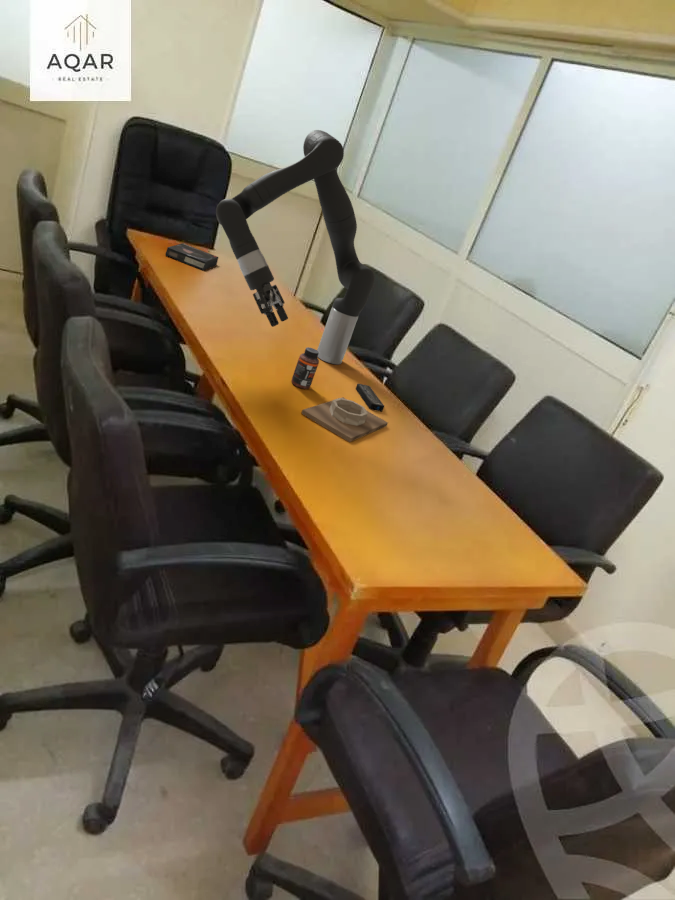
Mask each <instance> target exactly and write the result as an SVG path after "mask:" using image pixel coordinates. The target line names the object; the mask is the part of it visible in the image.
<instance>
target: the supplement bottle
mask: <svg viewBox="0 0 675 900" xmlns="http://www.w3.org/2000/svg"><path fill="white" fill-rule="evenodd" d="M318 354H319V352H318V351H317V349H316V348H313V347H305V349H304V353H301V354H300V355H299V356H298V360H297V363H296V366H295V369H294V370H293V374H292V377H291V383H292V384H293V385H294V386H296V387H297V388H300V389H303V390H308V389H310V388H311V386H312V383H313V381H314V378H315V376H316V372H317V369H318V366H319V364H320V360H319V358H318Z"/></svg>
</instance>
